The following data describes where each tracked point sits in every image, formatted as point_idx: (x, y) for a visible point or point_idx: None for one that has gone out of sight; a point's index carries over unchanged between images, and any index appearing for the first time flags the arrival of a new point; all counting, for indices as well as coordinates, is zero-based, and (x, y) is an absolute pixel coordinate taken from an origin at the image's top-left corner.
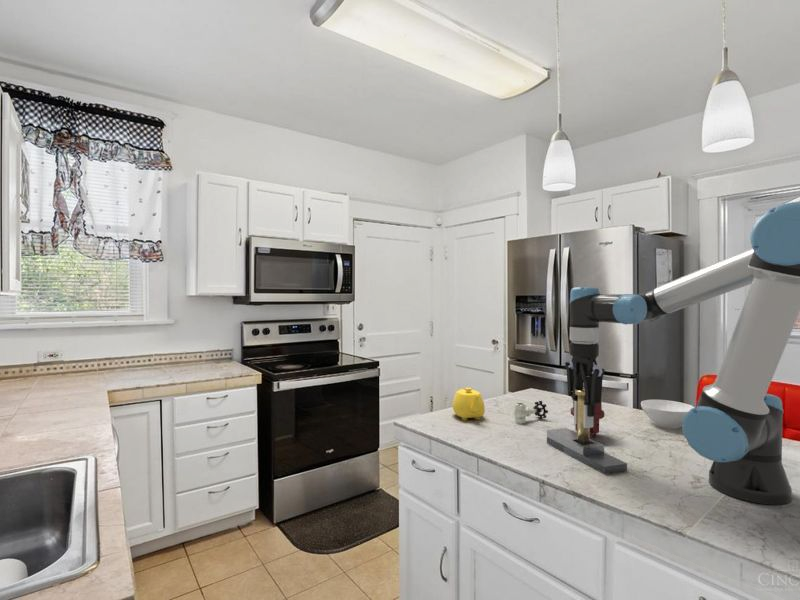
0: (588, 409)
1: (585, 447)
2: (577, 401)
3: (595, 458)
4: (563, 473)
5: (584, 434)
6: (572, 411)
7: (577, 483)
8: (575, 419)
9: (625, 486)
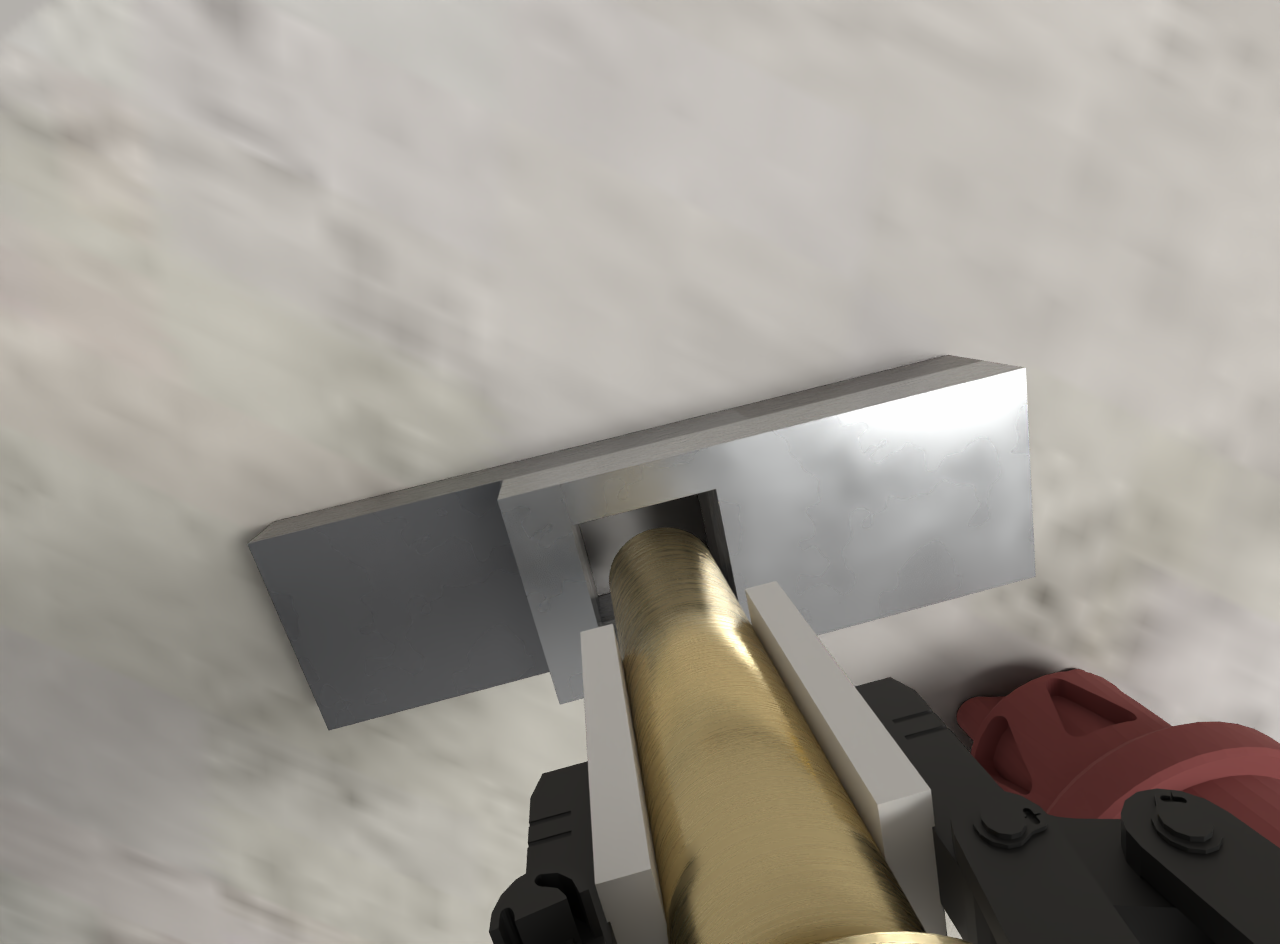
0: (576, 853)
1: (513, 528)
2: (880, 830)
3: (431, 549)
4: (284, 201)
5: (617, 599)
6: (1229, 747)
7: (74, 227)
8: (767, 614)
9: (64, 566)
